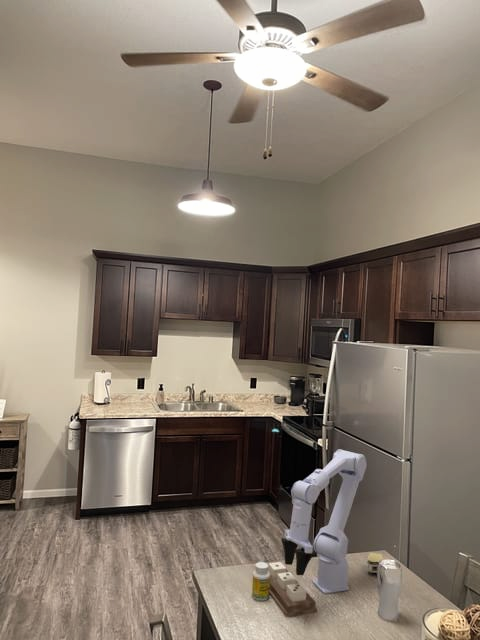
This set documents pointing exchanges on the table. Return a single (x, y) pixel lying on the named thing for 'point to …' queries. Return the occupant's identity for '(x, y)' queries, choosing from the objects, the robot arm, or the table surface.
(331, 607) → the table surface
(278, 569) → the key one
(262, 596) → the supplement bottle
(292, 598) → the key three
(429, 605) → the table surface
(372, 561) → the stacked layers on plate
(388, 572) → the beer glass
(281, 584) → the key two
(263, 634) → the table surface
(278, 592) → the brown wooden tray
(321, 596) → the table surface
